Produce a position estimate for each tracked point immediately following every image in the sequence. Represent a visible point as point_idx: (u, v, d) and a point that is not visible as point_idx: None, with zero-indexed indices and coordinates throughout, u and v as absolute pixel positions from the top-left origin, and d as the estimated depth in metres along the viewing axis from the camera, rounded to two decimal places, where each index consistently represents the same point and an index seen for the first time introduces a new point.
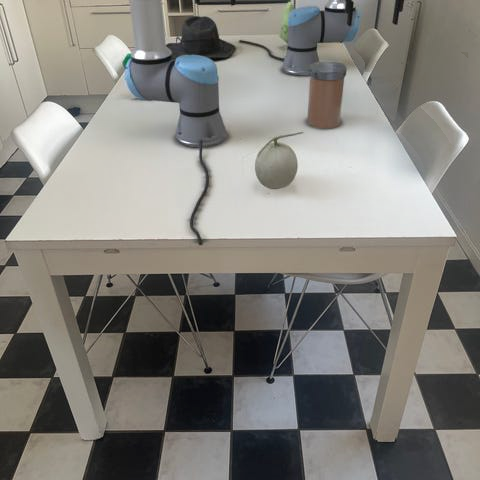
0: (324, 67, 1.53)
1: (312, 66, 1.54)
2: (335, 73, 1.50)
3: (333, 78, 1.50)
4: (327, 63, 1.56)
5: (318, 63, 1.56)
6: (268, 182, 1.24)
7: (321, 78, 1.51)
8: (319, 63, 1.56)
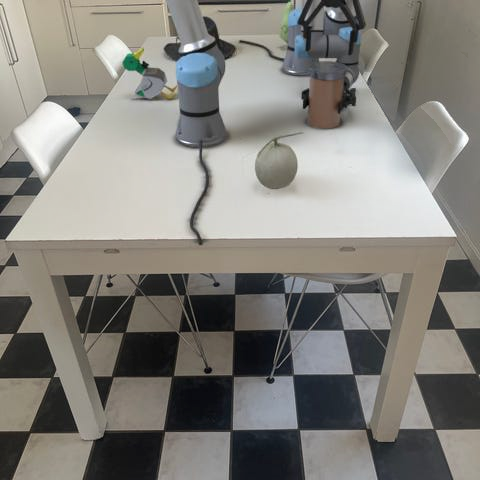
0: (324, 67, 1.53)
1: (312, 66, 1.54)
2: (335, 73, 1.50)
3: (333, 78, 1.50)
4: (327, 63, 1.56)
5: (318, 63, 1.56)
6: (268, 182, 1.24)
7: (321, 78, 1.51)
8: (319, 63, 1.56)
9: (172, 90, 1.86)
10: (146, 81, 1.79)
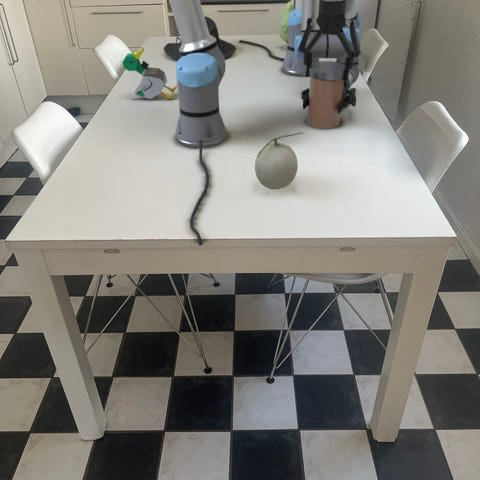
0: (324, 67, 1.53)
1: (312, 66, 1.54)
2: (335, 73, 1.50)
3: (333, 78, 1.50)
4: (327, 63, 1.56)
5: (318, 63, 1.56)
6: (268, 182, 1.24)
7: (321, 78, 1.51)
8: (319, 63, 1.56)
9: (172, 90, 1.86)
10: (146, 81, 1.79)
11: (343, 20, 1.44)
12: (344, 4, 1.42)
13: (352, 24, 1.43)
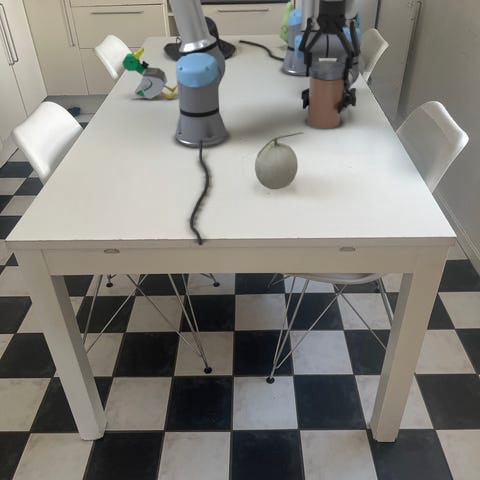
0: (331, 66, 1.53)
1: (331, 70, 1.50)
2: None
3: None
4: (317, 66, 1.53)
5: (319, 69, 1.51)
6: (268, 182, 1.24)
7: None
8: (319, 68, 1.51)
9: (172, 90, 1.86)
10: (146, 81, 1.79)
11: (343, 20, 1.44)
12: (344, 4, 1.41)
13: (352, 24, 1.43)
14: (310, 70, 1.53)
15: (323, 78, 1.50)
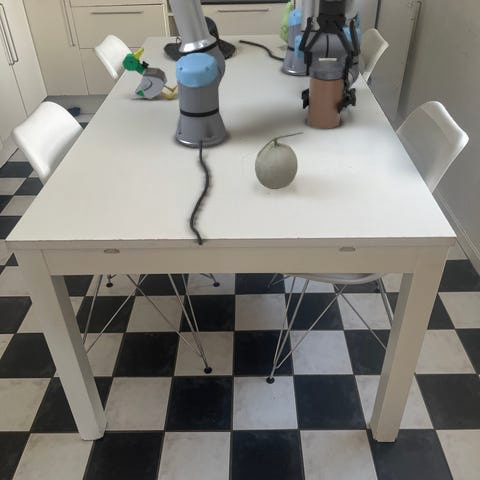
0: (329, 64, 1.54)
1: (342, 64, 1.54)
2: None
3: None
4: (331, 68, 1.51)
5: (340, 67, 1.52)
6: (268, 182, 1.24)
7: None
8: (339, 67, 1.52)
9: (172, 90, 1.86)
10: (146, 81, 1.79)
11: (343, 19, 1.44)
12: (344, 3, 1.41)
13: (352, 23, 1.43)
14: (337, 73, 1.50)
15: None
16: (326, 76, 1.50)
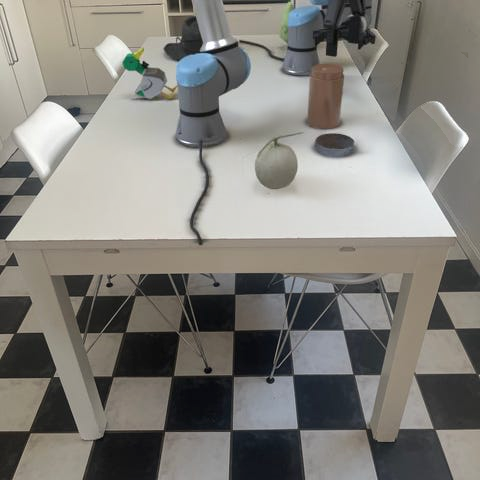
0: (339, 141, 1.46)
1: (344, 146, 1.43)
2: None
3: None
4: (325, 143, 1.45)
5: (331, 146, 1.43)
6: (268, 182, 1.24)
7: None
8: (331, 146, 1.44)
9: (172, 90, 1.86)
10: (146, 81, 1.79)
11: None
12: None
13: None
14: (320, 148, 1.44)
15: (338, 155, 1.43)
16: (315, 146, 1.47)
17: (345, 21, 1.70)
